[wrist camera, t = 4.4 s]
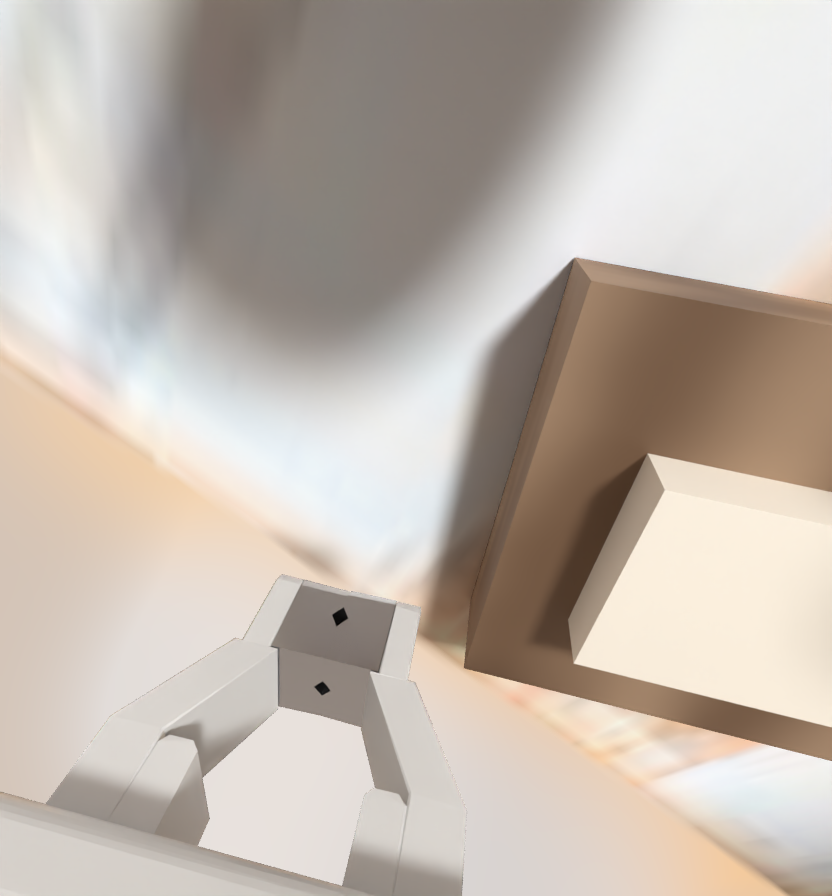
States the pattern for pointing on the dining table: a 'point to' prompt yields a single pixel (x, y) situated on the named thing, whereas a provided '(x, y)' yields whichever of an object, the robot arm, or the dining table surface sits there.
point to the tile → (715, 590)
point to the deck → (623, 452)
